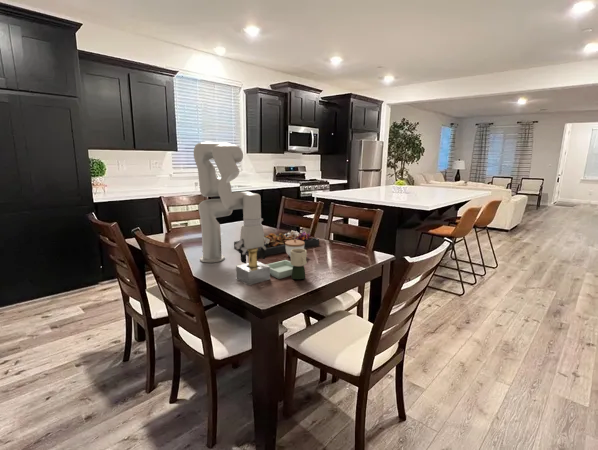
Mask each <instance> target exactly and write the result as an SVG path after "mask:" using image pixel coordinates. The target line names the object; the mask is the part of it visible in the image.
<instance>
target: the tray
mask: <svg viewBox="0 0 598 450" xmlns="http://www.w3.org/2000/svg"><path fill="white" fill-rule="evenodd" d="M265 265H268V266H270V276H271V277H274V278H277V279H278V280H280V279H283V278H288V277H290V276H291V277H292V269H293V265H291V260H288V259H283V260H280V261H276V262H270V263H267V264H265Z"/></svg>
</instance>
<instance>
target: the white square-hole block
mask: <svg viewBox="0 0 598 450" xmlns="http://www.w3.org/2000/svg"><path fill="white" fill-rule="evenodd" d="M235 266H236V267H235V269H236V272H235V273H236V280H238V281H240V282H242V283H243V284H246V285H247V286H251V285H256V284H258V283H259V284H260V283H262V282H266V281H270V280H271V275H270V266H268V265H266V264H265V263H262V262H261V261H259V260H257V267H256V268H252V269H251V268H249V262H246V263H242V264H239V265H235Z"/></svg>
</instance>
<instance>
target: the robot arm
mask: <svg viewBox="0 0 598 450" xmlns="http://www.w3.org/2000/svg"><path fill="white" fill-rule="evenodd" d="M193 159H194V162H195V164H196V167H197V176H198V184H199V191H200V192H199V193H200V194H201V196H202V197H204V198H205V197H206V198H207V197H208V198H209V197H210V198H211V199H204V200H202V201H201V202H199V204H198V214H199V218H200V224H201V242H202V243H201V244H202V247H201V248H202V250H201V251H202V256H200V257H199V260H200V262H202V263H208V264H210V263H211V264H212V263H220V262H222V261H224V260H225V257H226V256H225V255H223V254H222V232H221V231H222V230H221V224H220V222H219V221H218V220H217V218H223V217H229V216H231V215H232V213H233V211H235V210H242V214H243V215H242V216H243V217H242V220H243V225H241V227H240V228H241V229H240V236H239V237H240V238H239V240H238V241H239V242H238V243H237V244H235V248H236V249H235V248H234V249H235V250H236V252H238V253H239V254H240V261H241V263H242V264H247V254H246V251H247V249H254V248H259V247H260V248H261V249H260V257H259V258H260V259H263V260H265V259H266V256H265V250H266V248H267V247H268V244H269V241H270V239H268V238H265V237H264V235H265V232H264V227H263V224H262V222H263V221H264V218H262V203H261V202H262V200H261V197H262V196H261V195H260V194H259V193H255V192H251V191H246V190H245V191H233V190H232V184H231V181H233V180H235V179H236V178H237V177H238V176H239V174H240V169H239V166H238V165H237V164H240V163H241V162H242V161H243V159H244V152H243V150H242V148H241V147H240V146H239V145H237V144H232V143H229V142H215V141H202V142H198V143H197V144H195V146H194V148H193ZM211 161H214V163H215V165H216V167H217V170H218V172H219V174H220V176H221V177H217V173H216V172H217V171H216V168H215V166H214V164H213V163H212V162H211ZM232 191H233V192H232ZM212 197H219V198H212ZM264 240H265V243H264ZM240 247H242V248H241V249H240Z"/></svg>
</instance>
